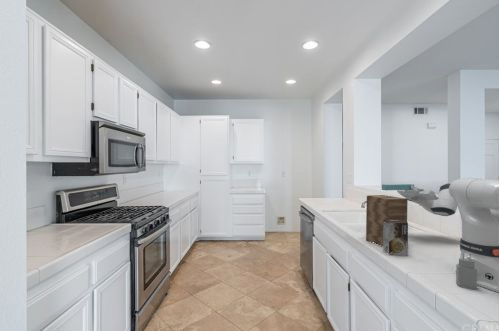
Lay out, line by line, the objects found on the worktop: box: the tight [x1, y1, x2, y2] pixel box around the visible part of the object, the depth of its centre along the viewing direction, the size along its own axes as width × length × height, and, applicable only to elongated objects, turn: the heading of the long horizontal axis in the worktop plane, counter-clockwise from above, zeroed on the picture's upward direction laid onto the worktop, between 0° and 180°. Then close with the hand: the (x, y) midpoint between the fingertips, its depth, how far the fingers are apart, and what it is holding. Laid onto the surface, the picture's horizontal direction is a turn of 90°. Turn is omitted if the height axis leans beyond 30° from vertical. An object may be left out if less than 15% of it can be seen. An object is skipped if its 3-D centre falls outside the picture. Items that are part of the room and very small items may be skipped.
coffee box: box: [382, 220, 409, 257], centre depth 122 cm, size 9×6×16 cm
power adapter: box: [455, 253, 478, 291], centre depth 89 cm, size 3×5×12 cm, turn 62°
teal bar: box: [381, 183, 415, 191], centre depth 139 cm, size 3×21×3 cm, turn 108°
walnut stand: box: [365, 194, 409, 247], centre depth 136 cm, size 16×12×26 cm
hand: (407, 186), depth 142 cm, fingers closed on teal bar, 3 cm apart
